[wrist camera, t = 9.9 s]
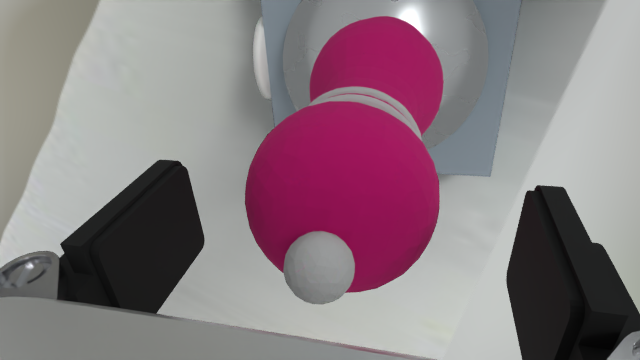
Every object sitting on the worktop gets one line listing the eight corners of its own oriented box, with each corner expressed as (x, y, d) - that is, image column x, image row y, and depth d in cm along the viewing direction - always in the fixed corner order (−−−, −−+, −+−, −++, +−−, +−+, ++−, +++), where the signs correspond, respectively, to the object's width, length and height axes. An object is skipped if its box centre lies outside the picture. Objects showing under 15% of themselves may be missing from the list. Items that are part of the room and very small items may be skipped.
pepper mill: (417, 133, 28) (410, 424, 11) (315, 103, 29) (162, 339, 12) (459, 25, 24) (546, 218, 7) (341, -8, 25) (168, 104, 8)
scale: (518, -82, 26) (542, -88, 21) (482, 148, 34) (492, 185, 29) (265, -66, 29) (233, -68, 24) (285, 139, 37) (264, 171, 32)
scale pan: (503, -53, 23) (505, -52, 22) (471, 159, 29) (473, 164, 28) (277, -41, 25) (273, -41, 25) (293, 150, 32) (291, 155, 31)
